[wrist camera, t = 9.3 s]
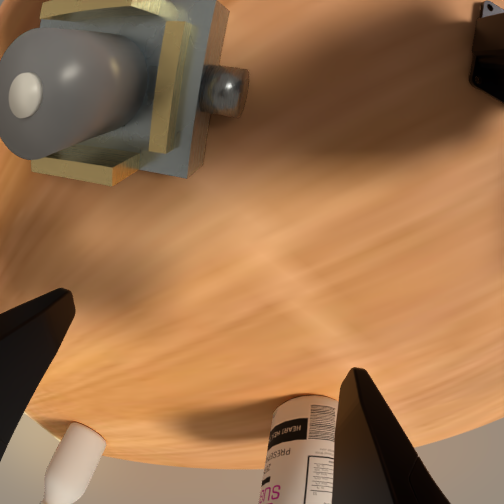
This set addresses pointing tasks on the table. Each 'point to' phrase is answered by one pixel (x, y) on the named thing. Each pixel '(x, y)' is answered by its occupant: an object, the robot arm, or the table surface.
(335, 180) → the table surface
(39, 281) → the table surface
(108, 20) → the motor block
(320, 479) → the supplement can
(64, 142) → the grey rounded piece
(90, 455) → the milk bottle
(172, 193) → the table surface
